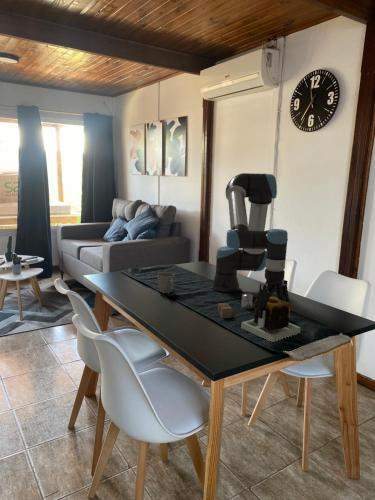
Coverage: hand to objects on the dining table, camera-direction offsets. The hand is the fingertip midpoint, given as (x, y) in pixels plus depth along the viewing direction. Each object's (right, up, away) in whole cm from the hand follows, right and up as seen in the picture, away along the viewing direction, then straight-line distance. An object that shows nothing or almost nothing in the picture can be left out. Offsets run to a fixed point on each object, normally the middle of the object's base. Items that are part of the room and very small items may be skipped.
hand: (270, 322), depth 148 cm
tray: (0, -3, +1) cm, 3 cm away
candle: (0, -1, 0) cm, 1 cm away
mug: (-44, +6, +45) cm, 64 cm away
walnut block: (-17, 0, +16) cm, 24 cm away
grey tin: (-5, +2, +27) cm, 28 cm away
